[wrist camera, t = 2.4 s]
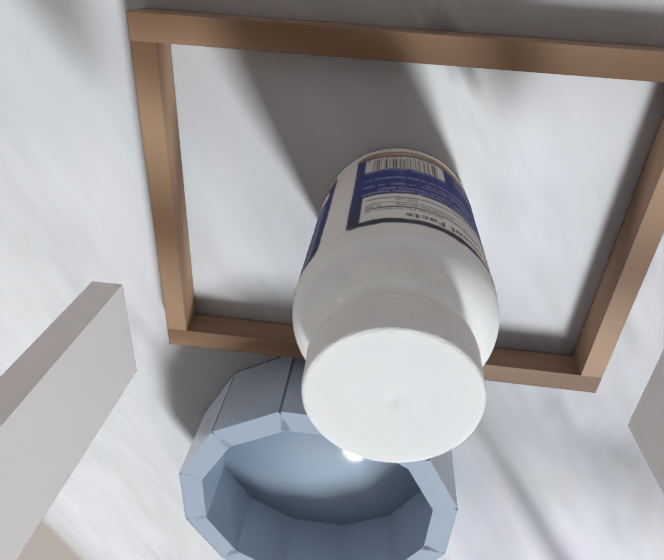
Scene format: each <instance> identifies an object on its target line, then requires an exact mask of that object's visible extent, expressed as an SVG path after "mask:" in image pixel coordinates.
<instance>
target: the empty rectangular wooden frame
mask: <svg viewBox="0 0 664 560" xmlns="http://www.w3.org/2000/svg"><path fill="white" fill-rule="evenodd" d="M126 14H127V21H128V29H129V37H130V44H131V52H132V60H133V68H134V75H135V83H136V91H137V98H138V106H139V114H140V121H141V129H142V137H143V144H144V152H145V160H146V167H147V175H148V183H149V190H150V198H151V206H152V213H153V221H154V229H155V236H156V244H157V252H158V259H159V267H160V275H161V283H162V290H163V298H164V306H165V313H166V321H167V329H168V336H169V344H176V345H185V346H193V347H202V348H211V349H219V350H228V351H237V352H245V353H254V354H263V355H271V356H280V357H289V358H297V359H305V358H304V357H303V355H302V353H301V351H300V349H299V346H298V344H297V341H296V338H295V334H294V328H293V325H288V324H279V323H270V322H261V321H252V320H243V319H234V318H225V317H216V316H207V315H198V314H196V312H195V301H194V290H193V280H192V269H191V258H190V248H189V237H188V226H187V216H186V205H185V195H184V184H183V173H182V163H181V152H180V141H179V131H178V120H177V110H176V99H175V88H174V78H173V67H172V56H171V46H170V44H181V45H194V46H207V47H219V48H232V49H245V50H257V51H270V52H283V53H296V54H308V55H321V56H334V57H346V58H359V59H372V60H385V61H397V62H410V63H423V64H435V65H448V66H461V67H474V68H486V69H499V70H512V71H524V72H537V73H550V74H563V75H575V76H588V77H601V78H613V79H626V80H639V81H651V82H664V47H654V46H640V45H627V44H614V43H600V42H587V41H574V40H560V39H547V38H533V37H520V36H507V35H493V34H480V33H466V32H453V31H440V30H426V29H413V28H399V27H386V26H373V25H359V24H346V23H332V22H319V21H306V20H292V19H279V18H265V17H252V16H239V15H225V14H212V13H198V12H185V11H172V10H158V9H145V8H142V9H136V10H131V11H126ZM663 233H664V115H663V118H662V120H661V123H660V126H659V128H658V131H657V134H656V136H655V139H654V142H653V144H652V147H651V150H650V152H649V155H648V157H647V160H646V163H645V165H644V168H643V171H642V173H641V176H640V179H639V181H638V184H637V187H636V189H635V192H634V195H633V197H632V200H631V203H630V205H629V208H628V211H627V213H626V216H625V218H624V221H623V224H622V226H621V229H620V232H619V234H618V237H617V240H616V242H615V245H614V248H613V250H612V253H611V256H610V258H609V261H608V264H607V266H606V269H605V271H604V274H603V277H602V279H601V282H600V285H599V287H598V290H597V293H596V295H595V298H594V301H593V303H592V306H591V309H590V311H589V314H588V317H587V319H586V322H585V324H584V327H583V330H582V332H581V335H580V338H579V340H578V343H577V346H576V348H575V351H574V354H573V356H567V355H558V354H549V353H540V352H531V351H522V350H513V349H504V348H495V347H494V348H493V350H492V353H491V355H490V356H489V358H488V360H487V361H486V363H485V364H484V366H483V373H484V379H485V380H489V381H497V382H506V383H515V384H523V385H532V386H541V387H549V388H558V389H567V390H575V391H584V392H593V393H595V392H596V390H597V388H598V385H599V383H600V381H601V378H602V376H603V374H604V371H605V369H606V367H607V364H608V362H609V360H610V357H611V355H612V353H613V350H614V348H615V345H616V343H617V341H618V338H619V336H620V334H621V331H622V329H623V327H624V324H625V322H626V320H627V317H628V315H629V313H630V310H631V308H632V306H633V303H634V301H635V299H636V296H637V294H638V291H639V289H640V287H641V284H642V282H643V280H644V277H645V275H646V273H647V270H648V268H649V266H650V263H651V261H652V259H653V256H654V254H655V252H656V249H657V247H658V245H659V242H660V240H661V237H662V235H663Z"/></svg>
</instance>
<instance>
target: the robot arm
mask: <svg viewBox="0 0 664 560" xmlns="http://www.w3.org/2000/svg"><path fill="white" fill-rule="evenodd" d="M136 371H137V369H136V363H135V357H134V351H133V345H132V339H131V333H130V327H129V321H128V315H127V309H126V303H125V297H124V291H123V285H122V284H112V283H102V282H93V281H92V282H91V283H90V284H89V285H88V287H87V288H86V289H85V290H84V291H83V292H82V293H81V294H80V295H79V296H78V297H77V298H76V299H75V300H74V301H73V302H72V303H71V304H70V305H69V306H68V307H67V308H66V309H65V310H64V311H63V312H62V314H61V315H60V316H59V317H58V318H57V319H56V320H55V321H54V322H53V323H52V324H51V325H50V326H49V327H48V328H47V329H46V330H45V331H44V332H43V333H42V334H41V335H40V336H39V337H38V338H37V339H36V341H35V342H34V343H33V344H32V345H31V346H30V347H29V348H28V349H27V350H26V351H25V352H24V353H23V354H22V355H21V356H20V357H19V358H18V359H17V360H16V361H15V362H14V363H13V364H12V365H11V366H10V367H9V369H8V370H7V371H6V372H5V373H4V374H3V375H2V376H1V377H0V560H17V558H18V557H19V555H20V553H21V552H22V550H23V549H24V547H25V546H26V544H27V542H28V541H29V539H30V538H31V536H32V535H33V533H34V531H35V530H36V528H37V527H38V525H39V524H40V522H41V520H42V519H43V517H44V516H45V514H46V513H47V511H48V509H49V508H50V506H51V505H52V503H53V502H54V500H55V498H56V497H57V495H58V494H59V492H60V491H61V489H62V487H63V486H64V484H65V483H66V481H67V480H68V478H69V476H70V475H71V473H72V472H73V470H74V469H75V467H76V465H77V464H78V462H79V461H80V459H81V458H82V456H83V454H84V453H85V451H86V450H87V448H88V447H89V445H90V443H91V442H92V440H93V439H94V437H95V436H96V434H97V432H98V431H99V429H100V428H101V426H102V425H103V423H104V421H105V420H106V418H107V417H108V415H109V414H110V412H111V410H112V409H113V407H114V406H115V404H116V403H117V401H118V399H119V398H120V396H121V395H122V393H123V392H124V390H125V388H126V387H127V385H128V384H129V382H130V381H131V379H132V377H133V376H134V374H135V373H136ZM628 426H629V428H630V430H631V432H632V434H633V436H634V438H635V440H636V442H637V444H638V446H639V447H640V449H641V451H642V453H643V455H644V457H645V459H646V461H647V463H648V465H649V467H650V469H651V470H652V472H653V474H654V476H655V478H656V480H657V482H658V484H659V486H660V488H661V490H662V491H663V493H664V350H663V352H662V354H661V356H660V358H659V360H658V363H657V365H656V367H655V369H654V371H653V373H652V375H651V377H650V379H649V382H648V384H647V386H646V388H645V390H644V392H643V394H642V396H641V398H640V401H639V403H638V405H637V407H636V409H635V411H634V413H633V415H632V417H631V420H630V422H629V424H628Z"/></svg>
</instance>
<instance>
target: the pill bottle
mask: <svg viewBox="0 0 664 560" xmlns="http://www.w3.org/2000/svg"><path fill="white" fill-rule="evenodd" d="M292 318H293V328H294V334H295V338H296V341H297V344H298V346H299V349H300V351H301V353H302V355H303V357H304V358H305V360H306V362H305V367H304V372H303V377H302V386H301V393H302V401H303V405H304V409H305V411H306V413H307V415H308V417H309V419H310V421H311V422H312V423H313V425H314V426H315V427H316V429H317V430H318V431H319V432H320V433H321V434H322V435H323V436H324V437H325V438H326V439H328V440H329V441H330V442H332V443H333V444H334V445H336V446H337V447H339V448H341V449H343V450H345V451H347V452H349V453H352V454H354V455H356V456H360V457H363V458H366V459H369V460H373V461H382V462H392V463H403V462H414V461H420V460H424V459H429V458H432V457H435V456H438V455H441V454H443V453H445V452H447V451H449V450H451V449H453V448H454V447H456V446H457V445H459V444H460V443H461V442H463V441H464V440H465V439H466V438H467V437H468V436H469V435H470V434H471V433H472V432H473V431H474V429H475V428H476V426H477V425H478V423H479V421H480V420H481V418H482V415H483V412H484V409H485V403H486V384H485V379H484V373H483V366H484V364H485V363H486V361H487V360H488V358H489V356H490V355H491V353H492V350H493V348H494V345H495V342H496V339H497V335H498V330H499V305H498V300H497V294H496V290H495V285H494V282H493V280H492V277H491V274H490V270H489V267H488V263H487V260H486V257H485V253H484V249H483V246H482V243H481V240H480V236H479V233H478V230H477V227H476V223H475V220H474V217H473V213H472V209H471V206H470V203H469V200H468V198H467V195H466V193H465V190H464V188H463V186H462V185H461V183H460V181H459V180H458V178H457V177H456V176H455V174H454V173H453V172H452V171H451V170H450V169H449V168H448V167H447V166H446V165H445V164H443V163H442V162H440V161H439V160H438V159H436V158H434V157H432V156H430V155H427V154H425V153H422V152H419V151H415V150H410V149H404V148H391V149H382V150H378V151H374V152H370V153H368V154H365V155H363V156H362V157H360V158H358V159H357V160H355V161H354V162H352V163H351V164H350V165H348V166H347V167H346V168H345V169H343V171H342V172H341V173H340V174H339V175H338V176H337V177H336V179H335V180H334V181H333V183H332V184H331V186H330V188H329V190H328V192H327V194H326V197H325V199H324V201H323V204H322V206H321V209H320V213H319V217H318V220H317V223H316V227H315V230H314V234H313V237H312V240H311V243H310V246H309V249H308V252H307V255H306V259H305V262H304V265H303V268H302V271H301V274H300V278H299V281H298V284H297V287H296V290H295V297H294V302H293V310H292Z"/></svg>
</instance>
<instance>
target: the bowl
mask: <svg viewBox="0 0 664 560" xmlns="http://www.w3.org/2000/svg"><path fill="white" fill-rule="evenodd" d="M305 362H306V360H305V359H297V358H289V357H281V358H278V359H275V360H272V361H269V362H266V363H263V364H260V365H257V366H254V367H251V368H248V369H245V370H242V371H239V372H236V374H234V375H233V376H232V378H231V379H230V380H229V381H228V383H227V384H226V385H225V387H224V388H223V389H222V391H221V392H220V393H219V395H218V396H217V397H216V399H215V400H214V401H213V402H212V404H211V405H210V406H209V408H208V409H207V410H206V412H205V414H204V416H203V419H202V421H201V423H200V426H199V428H198V430H197V433H196V435H195V437H194V440H193V442H192V444H191V447H190V449H189V451H188V454H187V456H186V458H185V461H184V463H183V465H182V468H181V470H180V473H179V476H180V483H181V490H182V497H183V504H184V511H185V518H186V519H187V521H188V522H189V523H190V524H191V525H192V526H193V527H194V528H195V529H196V530H197V531H198V532H199V533H200V534H201V535H202V537H203V538H204V539H205V540H206V541H207V542H208V543H209V544H210V545H211V546H212V547H213V548H214V549H215V550H216V552H217V553H218V554H219V555H220V556H221V557H224V559H226V560H436V559H438V558H439V557H441V556H442V555H444V553H445V552H446V549H447V545H448V542H449V538H450V535H451V531H452V528H453V524H454V521H455V517H456V514H457V511H458V508H457V499H456V490H455V480H454V471H453V462H452V452H451V450H449V451H447V452H445V453H443V454H441V455H438V456H435V457H432V458H429V459H424V460H420V461H414V462H403V463H392V462H382V461H373V460H369V459H366V458H363V457H360V456H356V455H354V454H352V453H349V452H347V451H345V450H343V449H341V448H339V447H337V446H336V445H334V444H333V443H332V442H330V441H329V440H328V439H326V438H325V437H324V436H323V435H322V434H321V433H320V432H319V431H318V430H317V429H316V427H315V426H314V425H313V423H312V422H311V421H310V419H309V417H308V415H307V413H306V411H305V409H304V405H303V401H302V393H301V386H302V377H303V372H304V367H305Z"/></svg>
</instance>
